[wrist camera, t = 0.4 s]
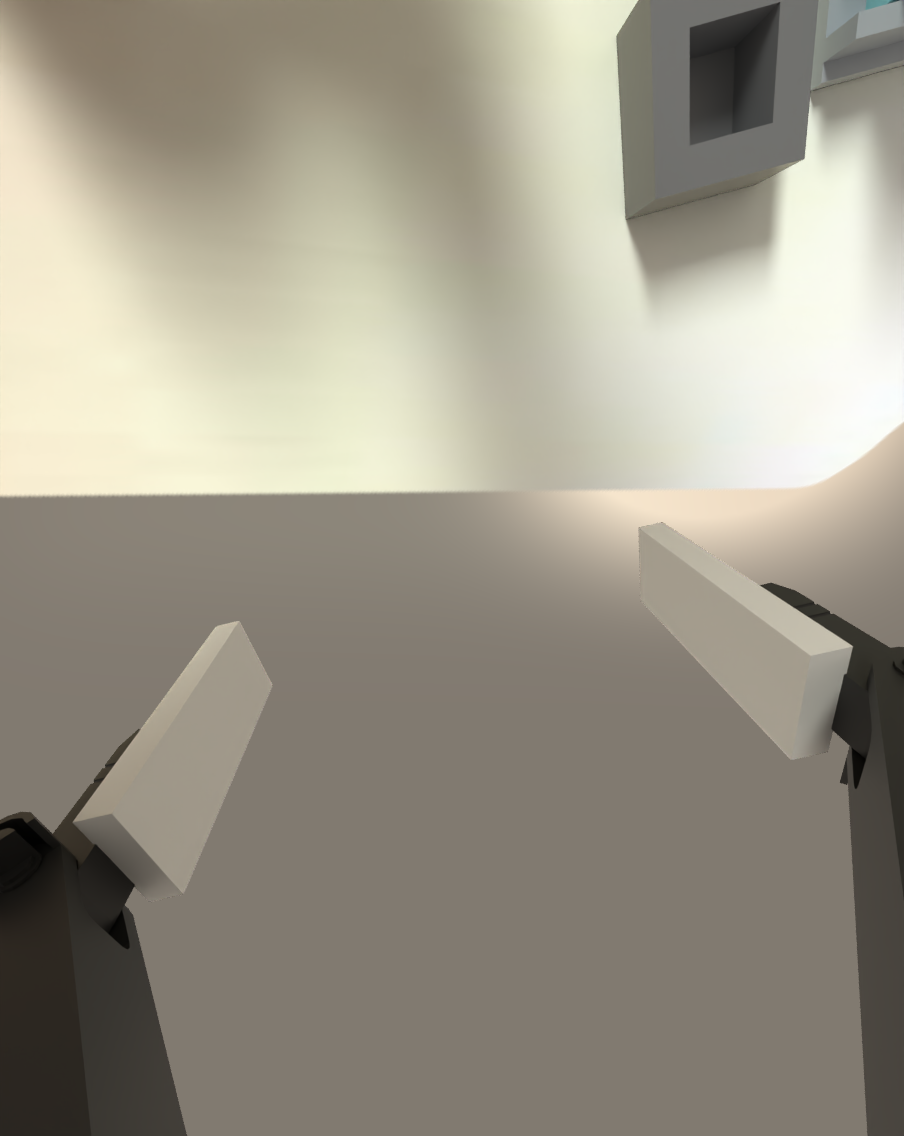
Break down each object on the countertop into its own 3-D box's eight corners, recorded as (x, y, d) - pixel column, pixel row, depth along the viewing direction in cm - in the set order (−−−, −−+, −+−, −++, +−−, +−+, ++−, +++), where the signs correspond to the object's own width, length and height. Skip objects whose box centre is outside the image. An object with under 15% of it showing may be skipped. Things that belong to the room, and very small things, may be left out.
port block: (616, 35, 29) (649, -18, 25) (766, -7, 29) (824, -69, 24) (625, 219, 33) (655, 199, 29) (756, 184, 33) (804, 158, 29)
